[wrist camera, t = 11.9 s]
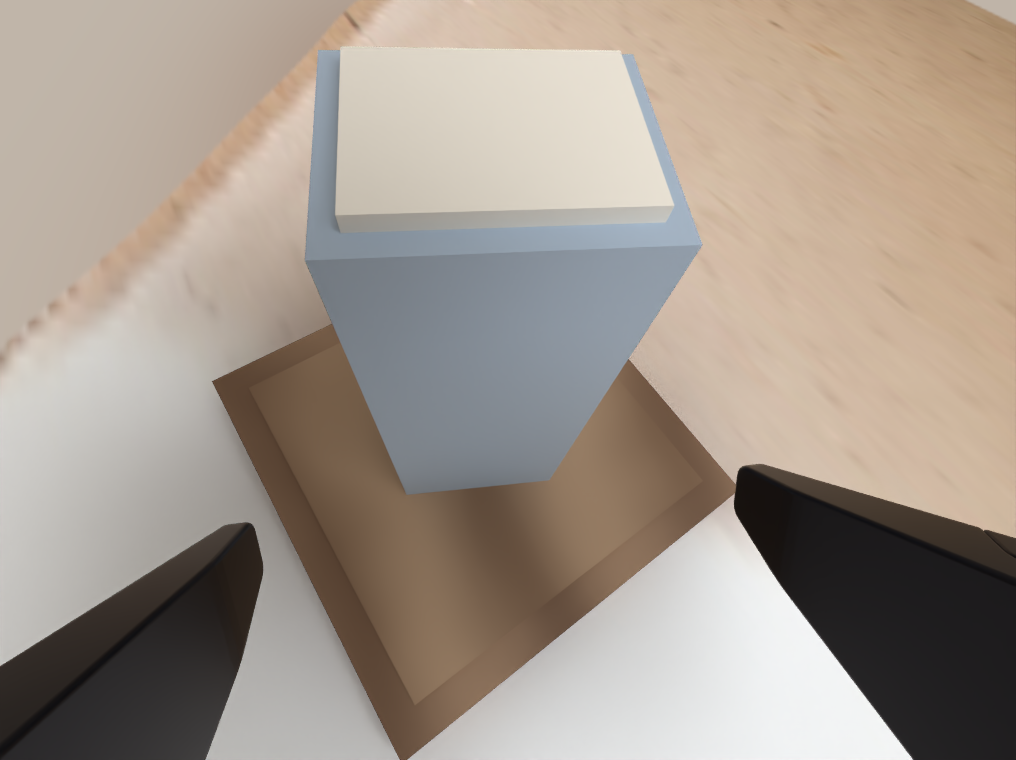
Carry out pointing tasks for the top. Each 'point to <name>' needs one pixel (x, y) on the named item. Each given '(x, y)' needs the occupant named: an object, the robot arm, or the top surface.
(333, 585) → the walnut board
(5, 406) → the top surface
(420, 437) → the slate block
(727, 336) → the top surface
